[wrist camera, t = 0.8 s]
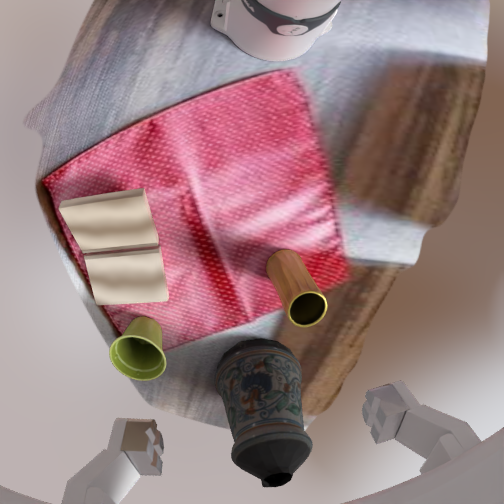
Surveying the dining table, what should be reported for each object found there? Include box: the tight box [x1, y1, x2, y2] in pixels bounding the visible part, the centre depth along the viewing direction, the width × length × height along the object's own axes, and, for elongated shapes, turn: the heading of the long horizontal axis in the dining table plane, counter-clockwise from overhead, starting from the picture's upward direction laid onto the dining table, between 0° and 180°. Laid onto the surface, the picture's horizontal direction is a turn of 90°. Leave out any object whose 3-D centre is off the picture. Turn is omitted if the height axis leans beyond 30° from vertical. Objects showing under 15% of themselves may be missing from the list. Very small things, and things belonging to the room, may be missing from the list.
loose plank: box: [58, 188, 159, 253], centre depth 41 cm, size 10×13×2 cm
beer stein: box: [215, 339, 312, 487], centre depth 46 cm, size 16×19×25 cm
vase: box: [266, 249, 327, 327], centre depth 44 cm, size 6×6×14 cm
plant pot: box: [109, 316, 166, 381], centre depth 48 cm, size 9×9×9 cm
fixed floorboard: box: [84, 245, 169, 305], centre depth 47 cm, size 9×13×2 cm
